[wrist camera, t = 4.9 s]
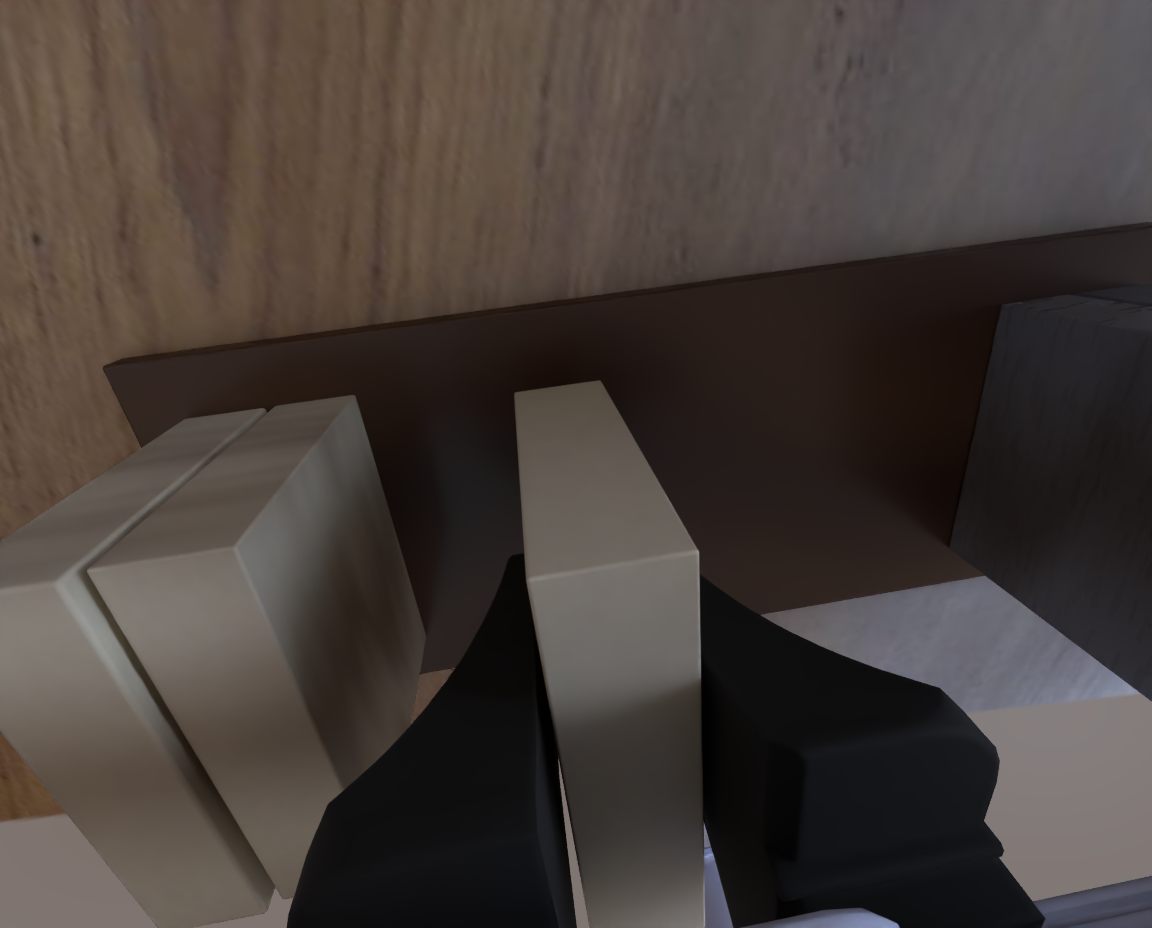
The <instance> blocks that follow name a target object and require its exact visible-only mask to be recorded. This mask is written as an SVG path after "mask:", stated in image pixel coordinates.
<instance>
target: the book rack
mask: <svg viewBox="0 0 1152 928" xmlns="http://www.w3.org/2000/svg"><path fill="white" fill-rule="evenodd" d="M103 370H104V372H105V374H106V376H107V378H108V381H109V383H110V385H111V387H112V389H113V391H114V393H115V395H116V397H117V399H118V401H119V403H120V405H121V407H122V409H123V411H124V413H125V415H126V417H127V419H128V421H129V423H130V425H131V428H132V430H133V432H134V434H135V436H136V438H137V440H138V442H139V444H140V446H141V449H139V450H138V451H136V452H134V453H133V454H131V455H130V456H128V457H127V458H125V459H124V460H122V461H121V462H119V463H118V464H116V465H115V466H113V467H112V468H110V469H109V470H107V471H106V472H104V473H103V474H101V475H100V476H98V477H97V478H95V479H94V480H92V481H91V482H89V483H88V484H86V485H85V486H83V487H82V488H80V489H79V490H77V491H76V492H74V493H73V494H71V495H70V496H68V497H67V498H65V499H63V500H62V501H60V502H59V503H57V504H56V505H54V506H53V507H51V508H50V509H48V510H47V511H45V512H44V513H42V514H41V515H39V516H38V517H36V518H35V519H33V520H32V521H30V522H29V523H27V524H26V525H24V526H23V527H21V528H20V529H18V530H17V531H15V532H14V533H12V534H11V535H9V536H8V537H6V538H5V539H3V540H2V541H0V732H1V733H2V734H3V735H4V737H5V738H6V739H7V740H8V742H9V743H10V744H11V745H12V747H13V748H14V749H15V750H16V751H17V753H18V754H19V755H20V756H21V758H22V759H23V760H24V761H25V763H26V764H27V765H28V766H29V768H30V769H31V770H32V771H33V773H34V774H35V775H36V776H37V778H38V779H39V780H40V781H41V783H42V784H43V785H44V786H45V788H46V789H47V790H48V791H49V793H50V794H51V795H52V796H53V798H54V799H55V800H56V801H57V803H58V804H59V805H60V806H61V808H62V809H63V810H64V811H65V813H66V814H67V815H68V816H69V818H70V819H71V820H72V821H73V823H74V824H75V825H76V826H77V827H78V829H79V830H80V831H81V832H82V834H83V835H84V836H85V837H86V839H87V840H88V841H89V842H90V844H91V845H92V846H93V847H94V849H95V850H96V851H97V852H98V854H99V855H100V856H101V857H102V859H103V860H104V861H105V862H106V864H107V865H108V866H109V867H110V869H111V870H112V871H113V872H114V874H115V875H116V876H117V877H118V879H119V880H120V881H121V882H122V883H123V885H124V886H125V887H126V889H127V890H128V891H129V892H130V894H131V895H132V896H133V897H134V898H135V900H136V901H137V902H138V904H139V905H140V906H141V907H142V909H143V910H144V911H145V912H146V913H147V915H148V916H149V917H150V918H151V920H152V921H153V922H154V923H155V925H156V926H157V927H158V928H193V927H198V926H203V925H208V924H213V923H218V922H223V921H228V920H233V919H238V918H243V917H249V916H254V915H258V914H263V913H265V912H266V911H267V910H268V907H269V904H270V900H271V898H272V895H273V892H274V889H275V887H276V889H277V890H278V892H279V894H280V896H281V897H282V898H283V899H289V898H294V895H295V891H296V888H297V885H298V881H299V878H300V875H301V872H302V868H303V865H304V862H305V858H306V855H307V852H308V850H309V847H310V845H311V842H312V840H313V838H314V835H315V833H316V831H317V828H318V826H319V824H320V821H321V819H322V816H323V814H324V812H325V809H326V807H327V805H328V803H329V802H331V801H332V800H333V799H334V798H335V797H337V796H338V795H339V794H340V793H341V792H342V791H343V790H345V789H346V788H347V787H348V786H349V785H350V784H351V783H352V782H354V781H355V780H356V779H357V778H358V777H359V776H360V775H361V774H362V773H364V772H365V771H366V770H367V769H368V768H369V767H370V766H371V765H373V764H374V763H375V762H376V761H377V760H378V759H379V758H380V757H381V756H382V755H383V754H384V753H385V752H386V751H387V750H388V749H389V748H390V747H391V746H392V745H393V744H394V743H395V742H396V740H397V739H398V738H399V737H400V736H401V735H402V734H403V733H404V732H405V731H406V730H407V729H408V728H409V727H410V725H411V721H412V715H413V710H414V704H415V698H416V693H417V687H418V681H419V676H420V674H422V673H428V672H434V671H439V670H445V669H451V668H456V666H457V665H458V663H459V662H460V660H461V659H462V657H463V655H464V654H465V652H466V651H467V649H468V647H469V646H470V644H471V642H472V640H473V638H474V637H475V635H476V633H477V631H478V629H479V628H480V626H481V624H482V622H483V620H484V618H485V616H486V614H487V612H488V610H489V608H490V606H491V603H492V601H493V599H494V597H495V595H496V592H497V590H498V587H499V585H500V582H501V580H502V577H503V574H504V571H505V568H506V565H507V560H508V559H509V558H510V557H511V556H512V555H516V554H522V553H524V539H523V524H522V509H521V493H520V478H519V463H518V447H517V432H516V417H515V401H514V393H516V392H521V391H528V390H535V389H542V388H549V387H556V386H563V385H570V384H577V383H584V382H591V381H598V380H600V381H601V382H602V384H603V386H604V387H605V389H606V391H607V393H608V394H609V396H610V398H611V400H612V401H613V403H614V405H615V407H616V408H617V410H618V412H619V413H620V415H621V417H622V419H623V420H624V422H625V424H626V426H627V427H628V429H629V431H630V433H631V434H632V436H633V438H634V440H635V441H636V443H637V445H638V447H639V448H640V450H641V452H642V454H643V455H644V457H645V459H646V461H647V462H648V464H649V466H650V467H651V469H652V471H653V473H654V474H655V476H656V478H657V480H658V481H659V483H660V485H661V487H662V488H663V490H664V492H665V494H666V495H667V497H668V499H669V501H670V502H671V504H672V506H673V508H674V509H675V511H676V513H677V515H678V516H679V518H680V520H681V522H682V523H683V525H684V527H685V528H686V530H687V532H688V534H689V535H690V537H691V539H692V541H693V542H694V544H695V546H696V548H697V549H698V551H699V573H700V574H701V575H703V576H704V577H705V578H706V579H708V580H709V581H710V582H711V583H713V584H714V585H715V586H717V587H718V588H719V589H721V590H722V591H723V592H725V593H726V594H728V595H729V596H731V597H732V598H734V599H735V600H736V601H738V602H739V603H741V604H742V605H744V606H746V607H747V608H749V609H750V610H752V611H754V612H755V613H757V614H759V615H761V614H767V613H773V612H779V611H784V610H790V609H796V608H802V607H807V606H813V605H819V604H825V603H830V602H836V601H842V600H848V599H853V598H859V597H865V596H871V595H876V594H882V593H888V592H894V591H899V590H905V589H911V588H917V587H922V586H928V585H934V584H940V583H945V582H951V581H957V580H963V579H968V578H974V577H980V576H986V577H988V578H989V579H990V580H992V581H993V582H994V583H996V584H997V585H998V586H1000V587H1001V588H1002V589H1004V590H1005V591H1006V592H1008V593H1009V594H1010V595H1012V596H1013V597H1014V598H1016V599H1017V600H1018V601H1019V602H1021V603H1022V604H1023V605H1025V606H1026V607H1027V608H1029V609H1030V610H1031V611H1033V612H1034V613H1035V614H1037V615H1038V616H1039V617H1041V618H1042V619H1043V620H1045V621H1046V622H1047V623H1049V624H1050V625H1051V626H1053V627H1054V628H1055V629H1057V630H1058V631H1059V632H1060V633H1062V634H1063V635H1064V636H1066V637H1067V638H1068V639H1070V640H1071V641H1072V642H1074V643H1075V644H1076V645H1078V646H1079V647H1080V648H1082V649H1083V650H1084V651H1086V652H1087V653H1088V654H1090V655H1091V656H1092V657H1094V658H1095V659H1096V660H1097V661H1099V662H1100V663H1101V664H1103V665H1104V666H1105V667H1107V668H1108V669H1109V670H1111V671H1112V672H1113V673H1115V674H1116V675H1117V676H1119V677H1120V678H1121V679H1123V680H1124V681H1125V682H1127V683H1128V684H1129V685H1131V686H1132V687H1133V688H1135V689H1136V690H1137V691H1138V692H1140V693H1141V694H1142V695H1144V696H1145V697H1146V698H1148V699H1149V700H1150V701H1152V222H1144V223H1137V224H1129V225H1122V226H1114V227H1107V228H1099V229H1092V230H1084V231H1077V232H1069V233H1062V234H1054V235H1047V236H1039V237H1032V238H1024V239H1017V240H1009V241H1002V242H994V243H986V244H979V245H971V246H964V247H956V248H949V249H941V250H934V251H926V252H919V253H911V254H904V255H896V256H889V257H881V258H874V259H866V260H859V261H851V262H844V263H836V264H829V265H821V266H814V267H806V268H799V269H791V270H784V271H776V272H769V273H761V274H754V275H746V276H738V277H731V278H723V279H716V280H708V281H701V282H693V283H686V284H678V285H671V286H663V287H656V288H648V289H641V290H633V291H626V292H618V293H611V294H603V295H596V296H588V297H581V298H573V299H566V300H558V301H551V302H543V303H536V304H528V305H521V306H513V307H506V308H498V309H491V310H483V311H475V312H468V313H460V314H453V315H445V316H438V317H430V318H423V319H415V320H408V321H400V322H393V323H385V324H378V325H370V326H363V327H355V328H348V329H340V330H333V331H325V332H318V333H310V334H303V335H295V336H288V337H280V338H273V339H265V340H258V341H250V342H243V343H235V344H227V345H220V346H212V347H205V348H197V349H190V350H182V351H175V352H167V353H160V354H152V355H145V356H137V357H130V358H122V359H120V360H117V361H115V362H112V363H110V364H107V365H105V366H103Z"/></svg>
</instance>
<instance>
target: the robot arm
mask: <svg viewBox="0 0 1152 928" xmlns="http://www.w3.org/2000/svg"><path fill="white" fill-rule="evenodd" d="M699 580H700V641H701V701H702V762H703V820H704V823H705V827H706V830H707V834H708V837H709V841H710V844H711V847H708V848H704V883H705V927H704V928H1152V876H1149V877H1144V878H1140V879H1135V880H1130V881H1126V882H1121V883H1116V884H1112V885H1107V886H1103V887H1098V888H1093V889H1089V890H1084V891H1080V892H1075V893H1070V894H1065V895H1061V896H1056V897H1052V898H1047V899H1042V900H1038V901H1032V900H1031V899H1030V898H1029V896H1028V895H1027V894H1026V892H1025V891H1024V890H1023V888H1022V887H1021V886H1020V885H1019V883H1018V882H1017V881H1016V879H1015V878H1014V877H1013V875H1012V874H1011V873H1010V872H1009V870H1008V869H1007V868H1006V866H1005V865H1004V864H1003V862H1002V861H1001V860H1000V859H999V857H1001V856H1002V855H1003V852H1004V849H1003V847H1002V844H1001V842H1000V841H999V840H998V838H997V837H996V836H995V835H994V833H993V832H992V831H991V830H990V828H989V827H988V826H987V824H986V823H985V822H984V819H985V816H986V812H987V810H988V807H989V804H990V801H991V798H992V795H993V792H994V789H995V786H996V782H997V776H998V770H999V763H1000V760H999V757H998V753H997V750H996V747H995V746H994V745H993V744H992V743H991V742H990V740H989V739H988V738H987V737H986V736H985V735H984V734H983V733H982V732H981V730H980V729H979V728H978V727H977V726H976V725H975V724H974V722H973V721H972V720H971V719H970V718H969V717H968V716H967V714H966V713H965V712H964V711H963V710H962V709H961V708H960V707H959V706H958V705H957V704H956V703H955V702H954V701H953V700H952V699H951V698H950V697H949V696H948V695H947V694H946V693H944V692H943V691H942V690H941V689H940V688H938V687H935V686H932V685H928V684H925V683H922V682H919V681H915V680H912V679H909V678H906V677H902V676H899V675H896V674H893V673H889V672H886V671H883V670H880V669H877V668H874V667H872V666H869V665H866V664H864V663H861V662H858V661H856V660H853V659H850V658H848V657H845V656H843V655H840V654H838V653H835V652H833V651H831V650H828V649H826V648H824V647H821V646H819V645H817V644H815V643H813V642H811V641H808V640H806V639H804V638H802V637H800V636H798V635H796V634H794V633H792V632H790V631H788V630H786V629H784V628H782V627H780V626H778V625H776V624H775V623H773V622H771V621H769V620H768V619H766V618H764V617H762V616H761V615H759V614H757V613H755V612H754V611H752V610H750V609H749V608H747V607H746V606H744V605H742V604H741V603H739V602H738V601H736V600H735V599H734V598H732V597H731V596H729V595H728V594H726V593H725V592H723V591H722V590H721V589H719V588H718V587H717V586H715V585H714V584H713V583H711V582H710V581H709V580H708V579H706V578H705V577H704V576H703V575H701V574H700V573H699ZM287 928H577V925H576V917H575V908H574V900H573V892H572V884H571V876H570V866H569V857H568V849H567V841H566V832H565V823H564V814H563V806H562V797H561V788H560V779H559V764H558V752H557V746H556V741H555V735H554V730H553V724H552V719H551V713H550V708H549V702H548V697H547V691H546V686H545V681H544V675H543V670H542V664H541V659H540V653H539V648H538V642H537V637H536V631H535V626H534V621H533V615H532V610H531V604H530V599H529V593H528V588H527V582H526V570H525V555H524V553H522V554H516V555H512V556H511V557H510V558H509V559H508V560H507V565H506V568H505V571H504V574H503V577H502V580H501V582H500V585H499V587H498V590H497V592H496V595H495V597H494V599H493V601H492V603H491V606H490V608H489V610H488V612H487V614H486V616H485V618H484V620H483V622H482V624H481V626H480V628H479V629H478V631H477V633H476V635H475V637H474V638H473V640H472V642H471V644H470V646H469V647H468V649H467V651H466V652H465V654H464V655H463V657H462V659H461V660H460V662H459V663H458V665H457V666H456V668H455V669H454V671H453V672H452V674H451V675H450V677H449V678H448V679H447V681H446V682H445V684H444V685H443V686H442V687H441V689H440V690H439V691H438V693H437V694H436V695H435V697H434V698H433V699H432V700H431V702H430V703H429V704H428V706H427V707H426V708H425V709H424V710H423V712H422V713H421V714H420V715H419V716H418V718H417V719H416V720H415V721H414V722H413V723H412V724H411V725H410V727H409V728H408V729H407V730H406V731H405V732H404V733H403V734H402V735H401V736H400V737H399V738H398V739H397V740H396V742H395V743H394V744H393V745H392V746H391V747H390V748H389V749H388V750H387V751H386V752H385V753H384V754H383V755H382V756H381V757H380V758H379V759H378V760H377V761H376V762H375V763H374V764H373V765H371V766H370V767H369V768H368V769H367V770H366V771H365V772H364V773H362V774H361V775H360V776H359V777H358V778H357V779H356V780H355V781H354V782H352V783H351V784H350V785H349V786H348V787H347V788H346V789H345V790H343V791H342V792H341V793H340V794H339V795H338V796H337V797H335V798H334V799H333V800H332V801H331V802H329V803H328V805H327V807H326V809H325V812H324V814H323V816H322V819H321V821H320V824H319V826H318V828H317V831H316V833H315V835H314V838H313V840H312V842H311V845H310V847H309V850H308V852H307V855H306V858H305V862H304V865H303V868H302V872H301V875H300V878H299V881H298V885H297V888H296V891H295V895H294V898H293V901H292V905H291V908H290V912H289V915H288V922H287Z"/></svg>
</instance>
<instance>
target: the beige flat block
mask: <svg viewBox="0 0 1152 928" xmlns="http://www.w3.org/2000/svg"><path fill="white" fill-rule="evenodd" d="M514 401H515V417H516V432H517V447H518V463H519V478H520V493H521V509H522V524H523V539H524V555H525V570H526V582H527V588H528V593H529V599H530V604H531V610H532V615H533V621H534V626H535V631H536V637H537V642H538V648H539V653H540V659H541V664H542V670H543V675H544V681H545V686H546V691H547V697H548V702H549V708H550V713H551V719H552V724H553V730H554V735H555V741H556V746H557V752H558V757H559V762H560V768H561V773H562V779H563V784H564V790H565V795H566V801H567V806H568V812H569V817H570V822H571V828H572V833H573V839H574V844H575V850H576V855H577V861H578V866H579V872H580V877H581V883H582V888H583V893H584V898H585V904H586V909H587V915H588V921H589V926H590V928H704V927H705V883H704V822H703V762H702V701H701V641H700V580H699V551H698V549H697V548H696V546H695V544H694V542H693V541H692V539H691V537H690V535H689V534H688V532H687V530H686V528H685V527H684V525H683V523H682V522H681V520H680V518H679V516H678V515H677V513H676V511H675V509H674V508H673V506H672V504H671V502H670V501H669V499H668V497H667V495H666V494H665V492H664V490H663V488H662V487H661V485H660V483H659V481H658V480H657V478H656V476H655V474H654V473H653V471H652V469H651V467H650V466H649V464H648V462H647V461H646V459H645V457H644V455H643V454H642V452H641V450H640V448H639V447H638V445H637V443H636V441H635V440H634V438H633V436H632V434H631V433H630V431H629V429H628V427H627V426H626V424H625V422H624V420H623V419H622V417H621V415H620V413H619V412H618V410H617V408H616V407H615V405H614V403H613V401H612V400H611V398H610V396H609V394H608V393H607V391H606V389H605V387H604V386H603V384H602V382H601V381H600V380H598V381H591V382H584V383H577V384H570V385H563V386H556V387H549V388H542V389H535V390H528V391H521V392H516V393H514Z"/></svg>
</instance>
